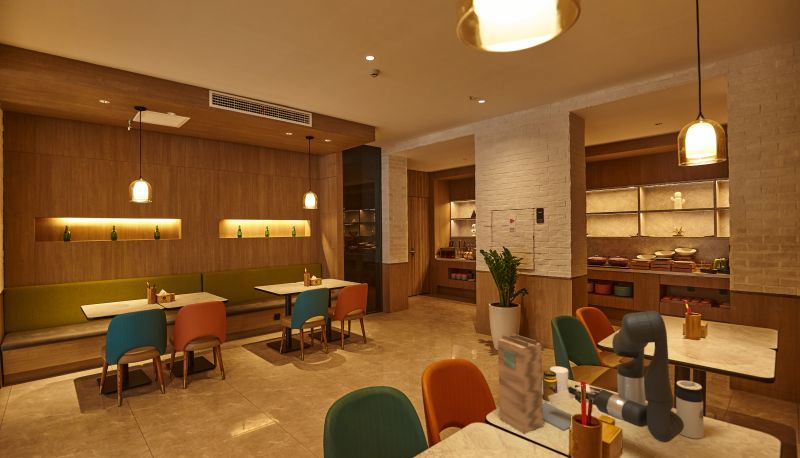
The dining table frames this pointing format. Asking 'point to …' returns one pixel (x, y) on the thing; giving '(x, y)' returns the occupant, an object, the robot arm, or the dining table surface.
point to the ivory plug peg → (565, 395)
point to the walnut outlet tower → (520, 382)
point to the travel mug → (690, 408)
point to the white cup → (561, 378)
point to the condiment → (549, 385)
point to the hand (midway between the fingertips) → (572, 388)
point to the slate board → (556, 417)
